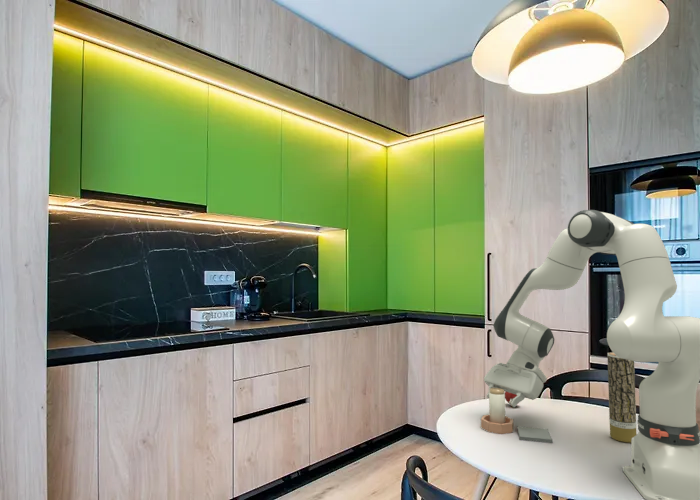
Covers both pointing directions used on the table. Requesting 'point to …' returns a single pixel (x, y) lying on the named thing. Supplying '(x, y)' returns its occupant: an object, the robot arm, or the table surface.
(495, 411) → the spice jar
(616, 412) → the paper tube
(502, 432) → the terracotta dish
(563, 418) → the table surface
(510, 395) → the onion
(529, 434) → the slate coaster
